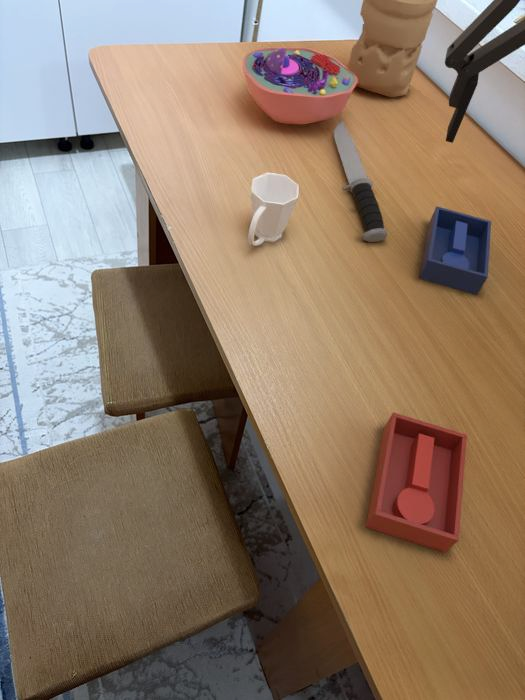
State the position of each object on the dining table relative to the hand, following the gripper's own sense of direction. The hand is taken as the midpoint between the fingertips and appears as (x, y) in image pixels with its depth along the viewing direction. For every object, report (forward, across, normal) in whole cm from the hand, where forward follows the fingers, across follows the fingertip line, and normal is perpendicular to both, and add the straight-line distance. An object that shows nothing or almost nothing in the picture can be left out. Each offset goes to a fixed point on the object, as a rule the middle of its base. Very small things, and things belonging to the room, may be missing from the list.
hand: (512, 152), depth 62 cm
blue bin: (+25, -2, -11) cm, 27 cm away
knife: (+25, +16, -22) cm, 37 cm away
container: (+25, +17, -55) cm, 62 cm away
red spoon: (+24, -1, +28) cm, 37 cm away
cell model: (+25, +30, -37) cm, 54 cm away
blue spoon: (+24, -2, -11) cm, 26 cm away
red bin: (+25, -1, +28) cm, 37 cm away
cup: (+25, +26, -4) cm, 36 cm away
